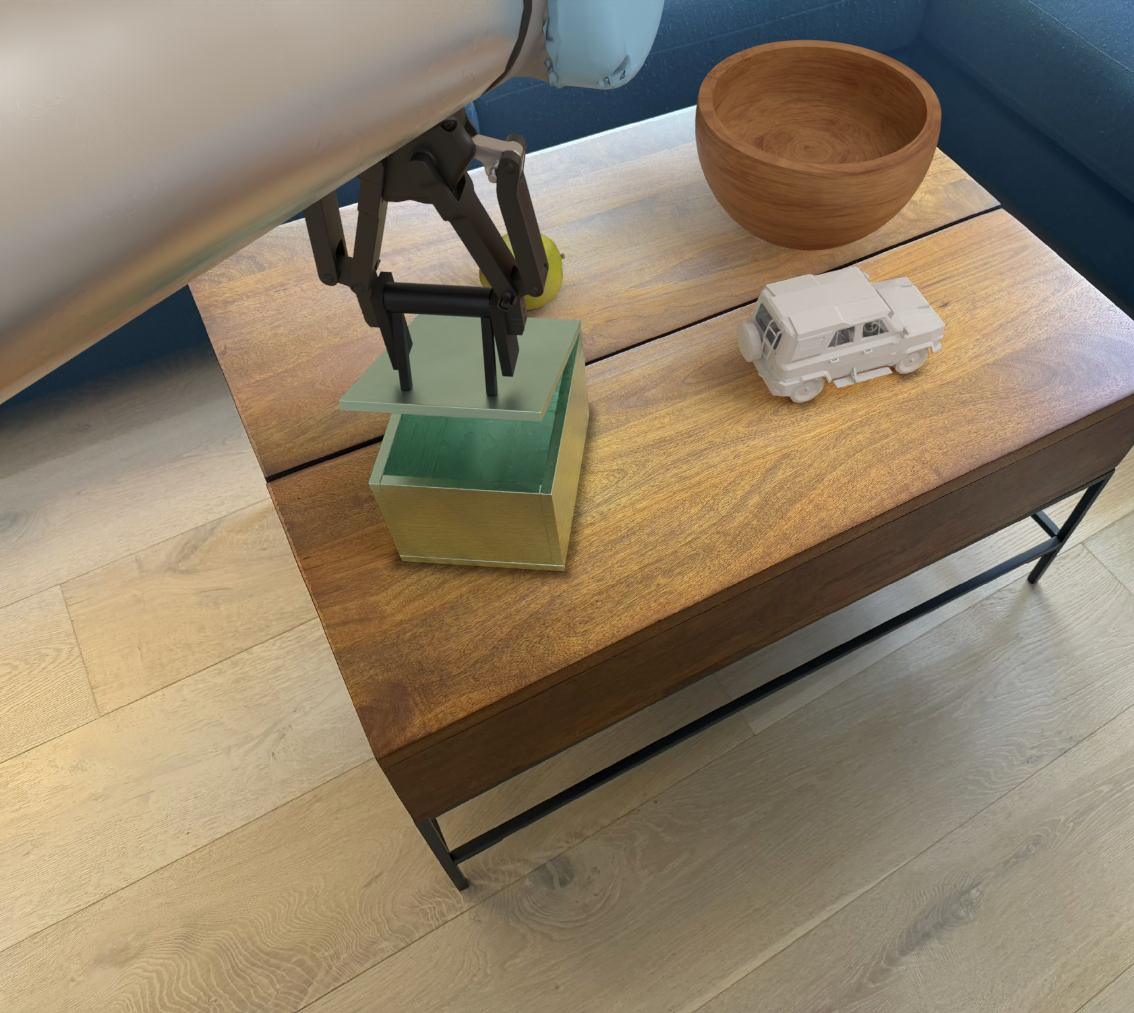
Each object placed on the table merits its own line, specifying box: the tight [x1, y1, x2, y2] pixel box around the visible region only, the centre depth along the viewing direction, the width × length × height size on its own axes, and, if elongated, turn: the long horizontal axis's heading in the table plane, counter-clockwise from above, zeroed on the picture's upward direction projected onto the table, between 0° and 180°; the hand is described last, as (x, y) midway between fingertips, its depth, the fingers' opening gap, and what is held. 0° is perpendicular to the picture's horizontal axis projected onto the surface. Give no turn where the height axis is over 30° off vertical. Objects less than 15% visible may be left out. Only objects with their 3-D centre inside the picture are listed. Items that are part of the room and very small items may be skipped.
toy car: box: [736, 261, 946, 404], centre depth 86 cm, size 10×20×10 cm, turn 111°
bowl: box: [694, 39, 942, 251], centre depth 97 cm, size 25×25×15 cm
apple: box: [478, 232, 566, 311], centre depth 92 cm, size 8×9×8 cm
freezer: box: [368, 328, 590, 572], centre depth 76 cm, size 18×14×11 cm
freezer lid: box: [338, 281, 582, 422], centre depth 67 cm, size 19×14×8 cm
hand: (457, 359), depth 64 cm, fingers closed on freezer lid, 7 cm apart
